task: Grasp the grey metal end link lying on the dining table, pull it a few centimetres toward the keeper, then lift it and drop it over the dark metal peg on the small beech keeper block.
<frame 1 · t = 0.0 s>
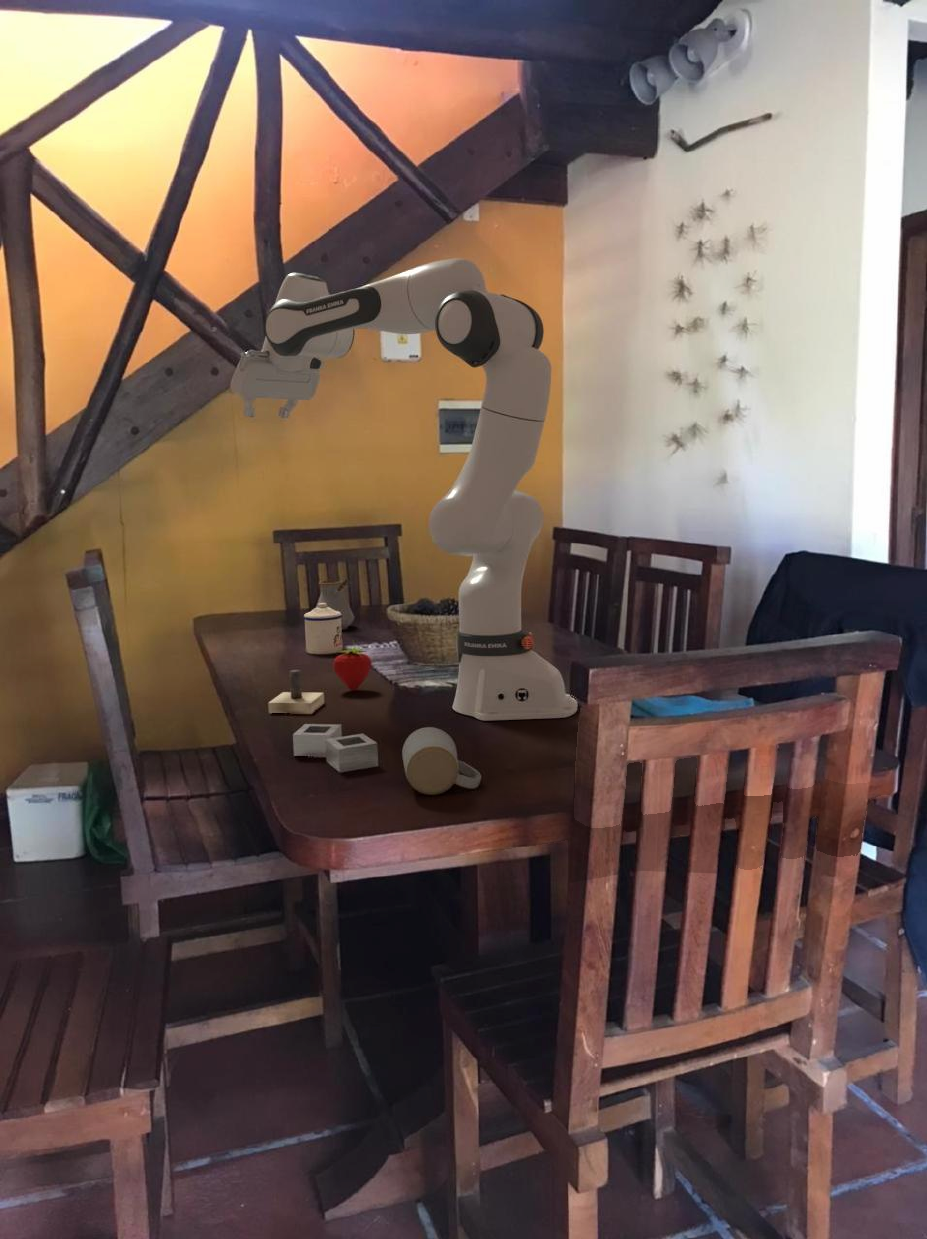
hand: (265, 416, 200), 54 cm above the table, tool tilted 30°, fingers open, 8 cm apart
end link: (318, 751, 152), on the table
keeper block: (297, 708, 179), on the table
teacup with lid: (324, 650, 234), on the table
white square box: (352, 763, 145), on the table
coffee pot: (338, 632, 260), on the table
strawberry: (353, 691, 191), on the table
ceramic mug: (441, 788, 134), on the table
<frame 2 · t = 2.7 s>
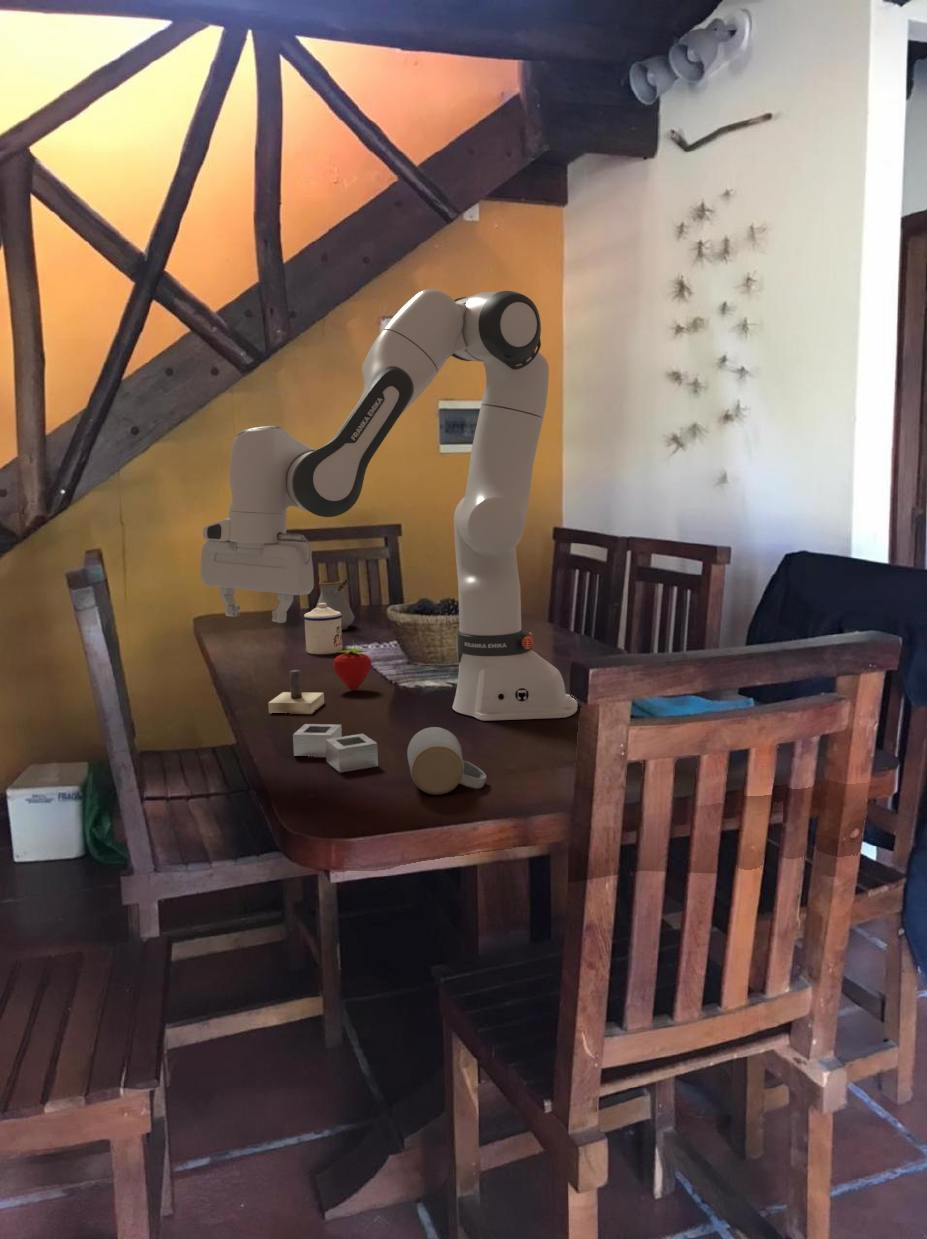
hand: (255, 619, 153), 20 cm above the table, tool pointing down, fingers open, 8 cm apart
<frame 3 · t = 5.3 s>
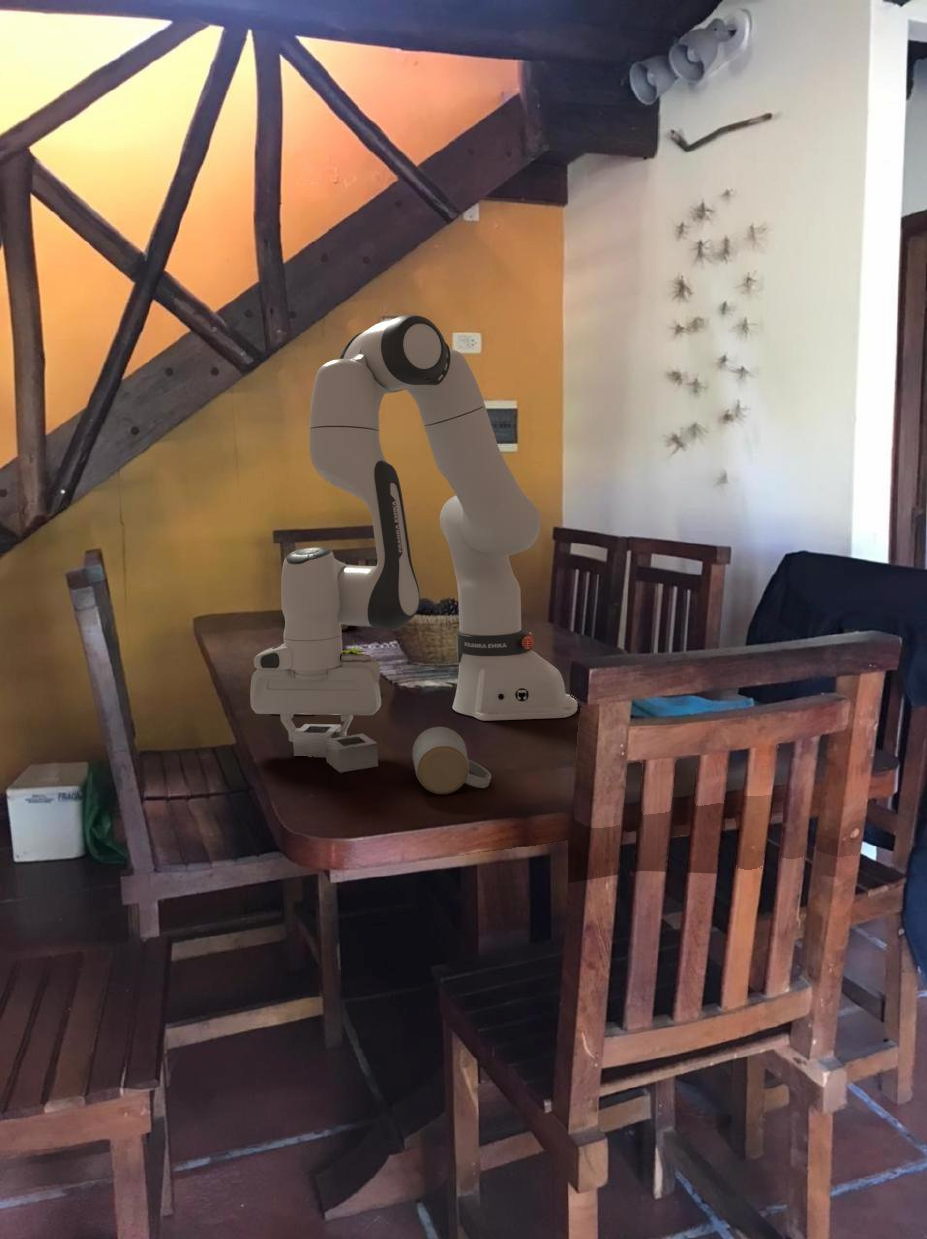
hand: (318, 741, 151), 2 cm above the table, tool pointing down, fingers closed on end link, 6 cm apart
end link: (318, 751, 152), on the table, touching gripper
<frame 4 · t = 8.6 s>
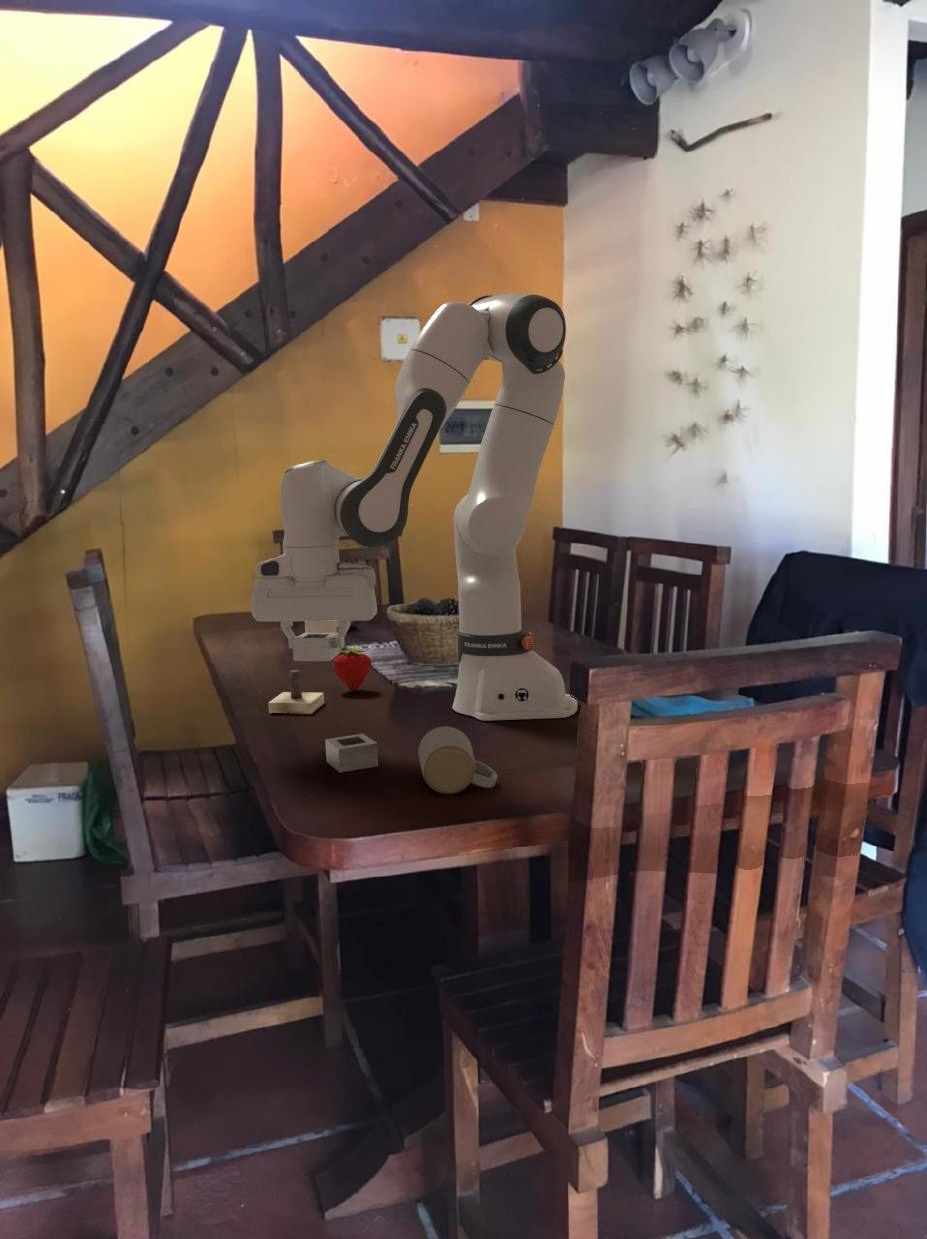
hand: (316, 647, 158), 15 cm above the table, tool pointing down, fingers closed on end link, 6 cm apart
end link: (317, 657, 158), point 13 cm above the table, touching gripper
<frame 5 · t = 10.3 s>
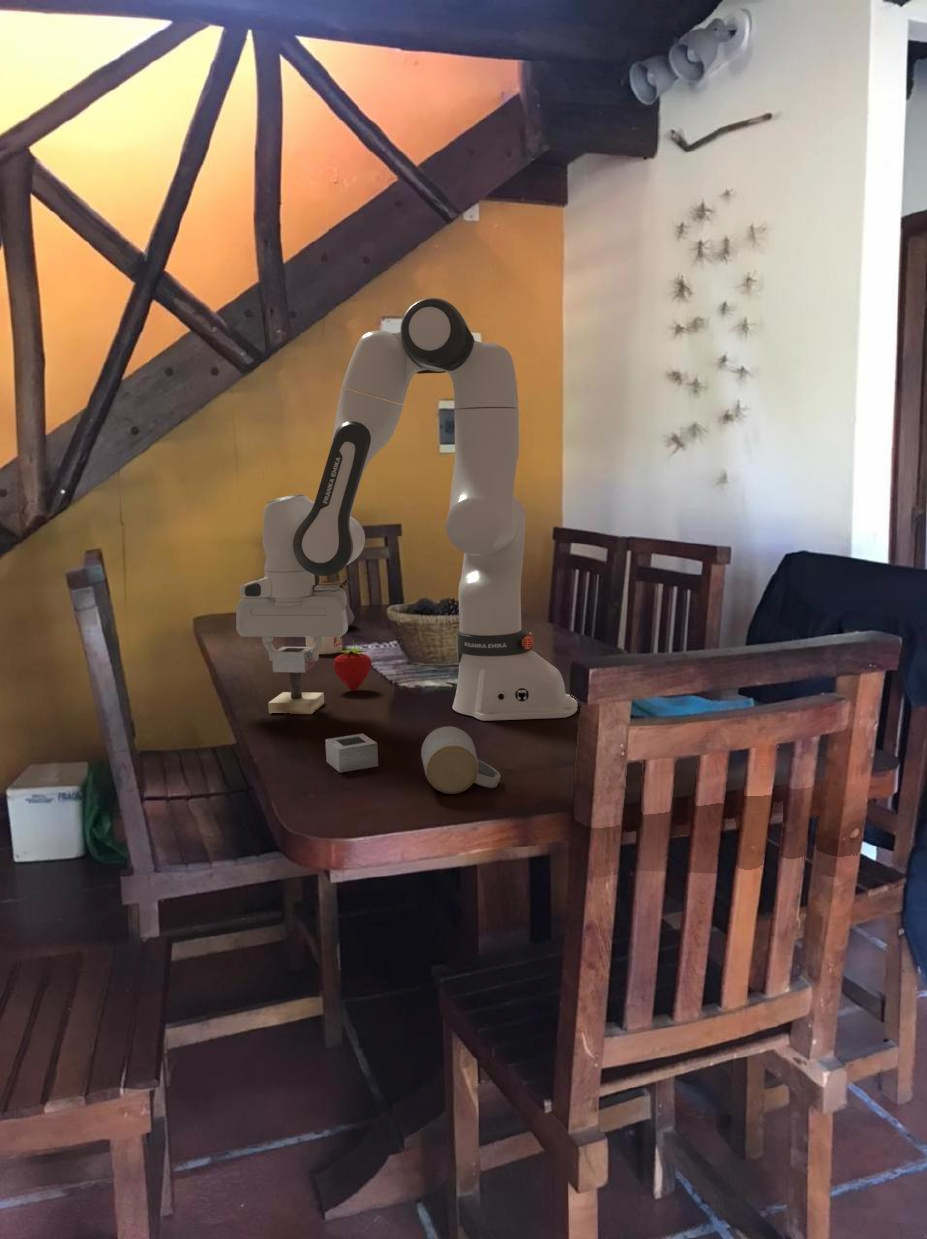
hand: (294, 660, 177), 9 cm above the table, tool pointing down, fingers closed on end link, 6 cm apart
end link: (294, 668, 177), point 7 cm above the table, touching gripper
when the fingers open (5 cm above the table, at t = 11.7 s): end link drops 1 cm, resting on keeper block.
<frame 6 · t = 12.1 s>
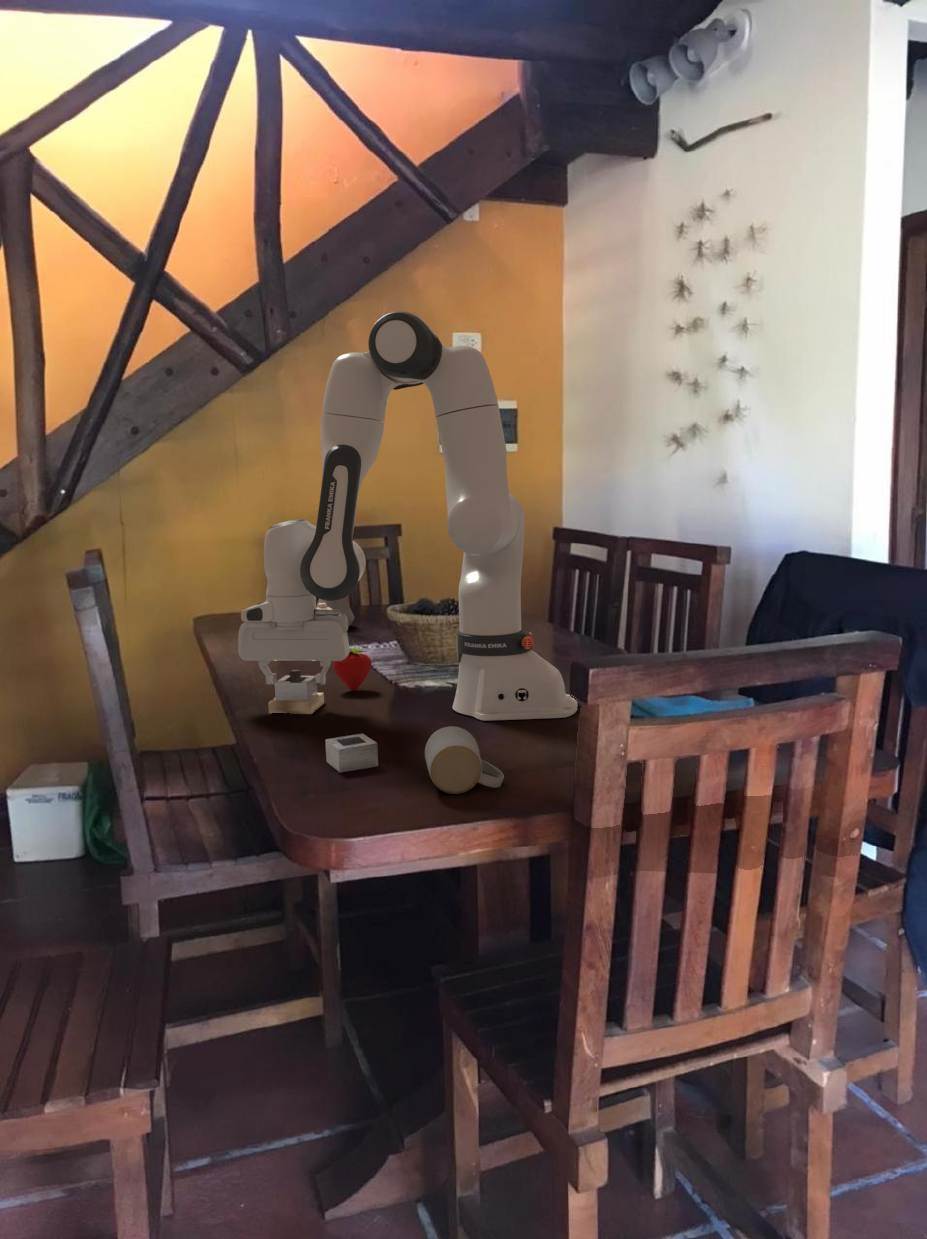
hand: (295, 683, 178), 5 cm above the table, tool pointing down, fingers open, 8 cm apart
end link: (296, 697, 178), point 2 cm above the table, touching keeper block
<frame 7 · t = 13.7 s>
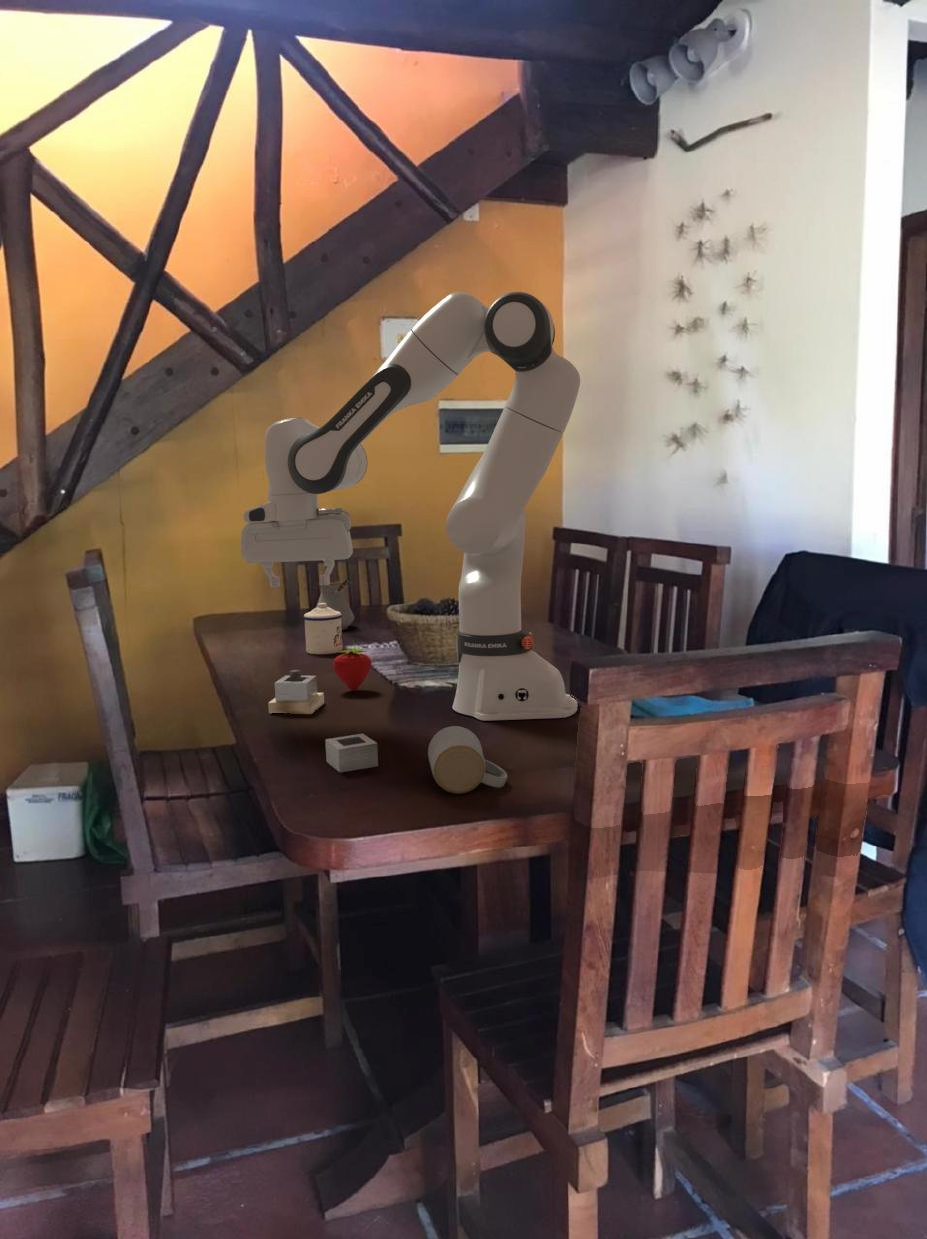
hand: (300, 585, 177), 22 cm above the table, tool pointing down, fingers open, 8 cm apart
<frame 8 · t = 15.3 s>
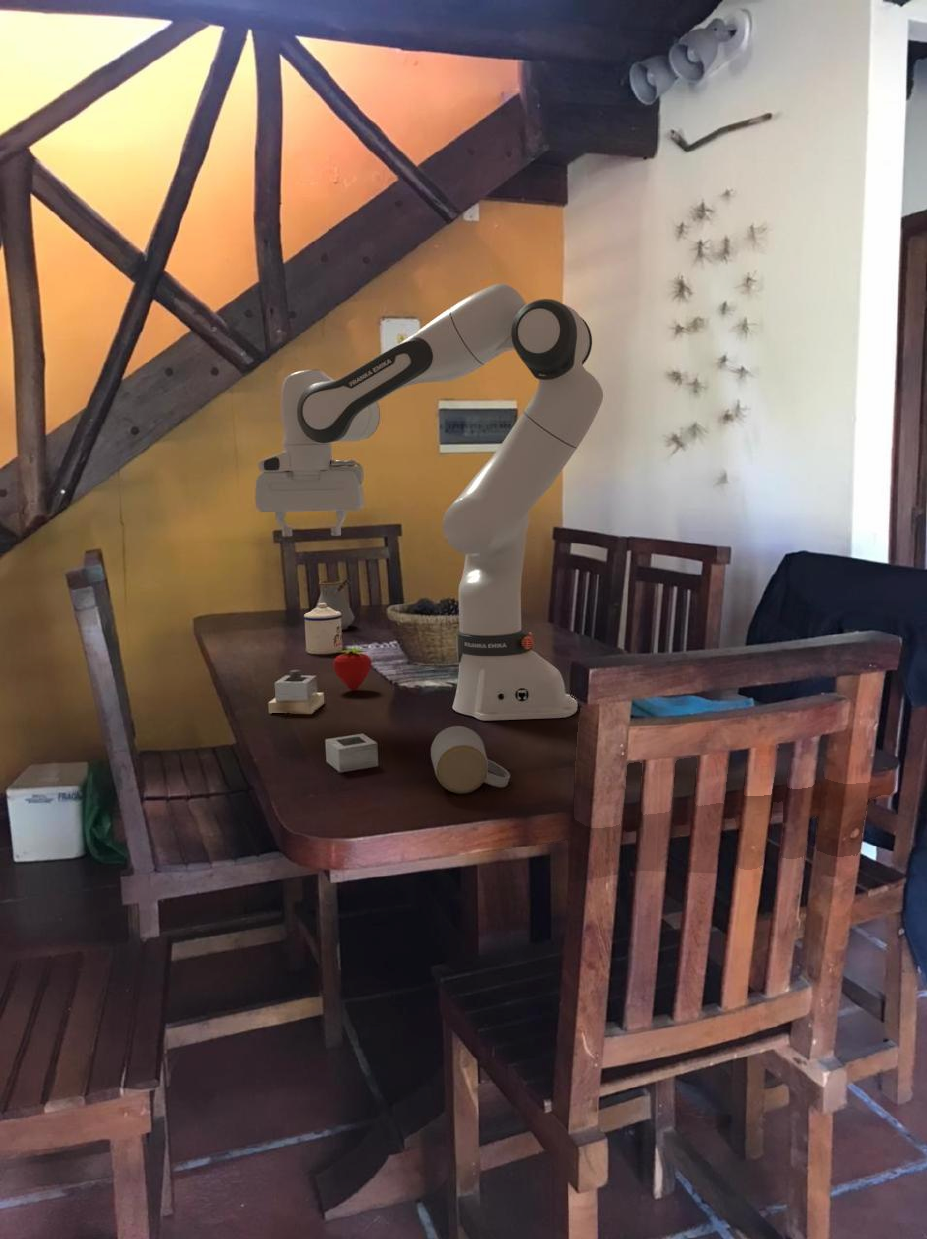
hand: (311, 535, 181), 31 cm above the table, tool pointing down, fingers open, 8 cm apart
at the end: end link 0.1 cm off-centre on the keeper block, point 2.0 cm above the keeper block's base; the gripper is holding nothing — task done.
